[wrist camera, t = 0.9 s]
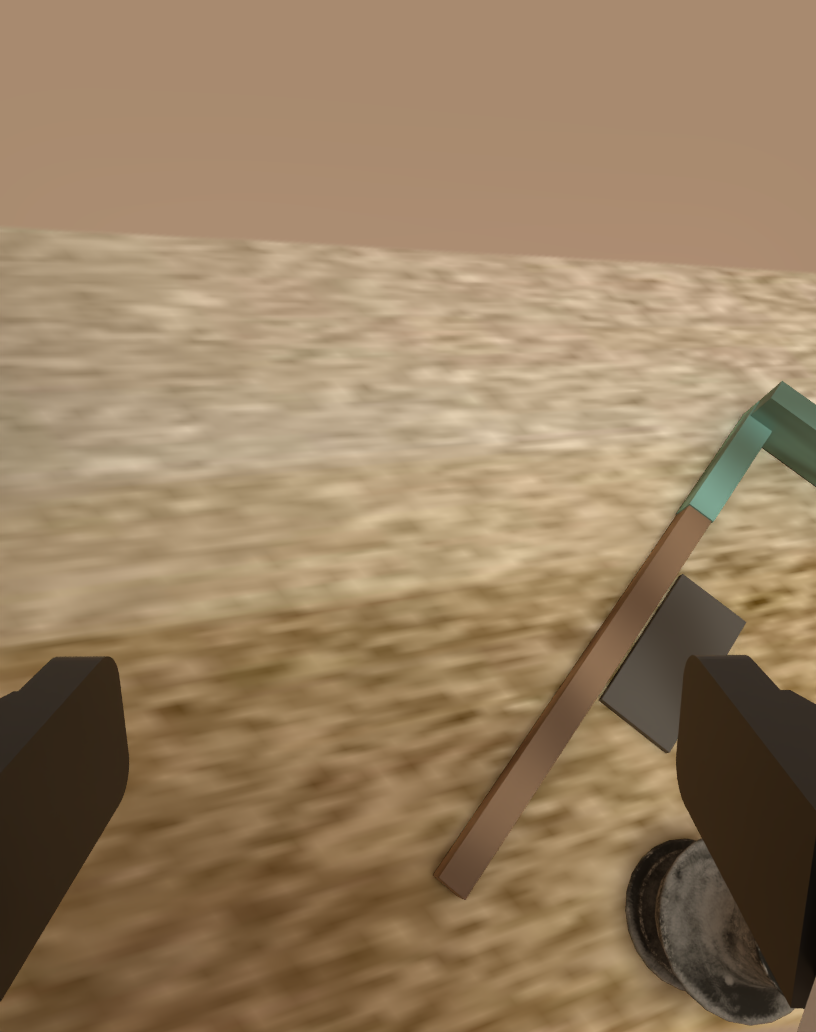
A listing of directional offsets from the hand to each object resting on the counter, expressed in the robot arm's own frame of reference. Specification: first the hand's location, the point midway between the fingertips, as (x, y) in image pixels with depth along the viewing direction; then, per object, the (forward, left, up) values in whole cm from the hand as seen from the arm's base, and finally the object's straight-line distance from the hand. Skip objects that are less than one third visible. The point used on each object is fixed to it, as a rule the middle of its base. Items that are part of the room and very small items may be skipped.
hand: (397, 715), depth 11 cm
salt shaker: (+12, +8, -20) cm, 25 cm away
